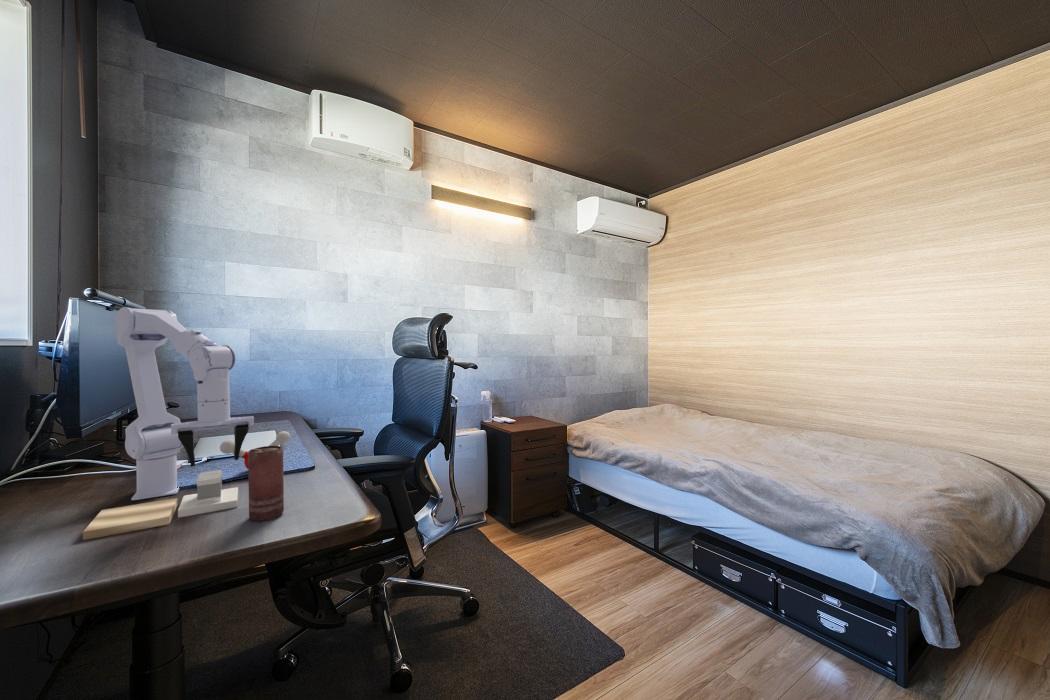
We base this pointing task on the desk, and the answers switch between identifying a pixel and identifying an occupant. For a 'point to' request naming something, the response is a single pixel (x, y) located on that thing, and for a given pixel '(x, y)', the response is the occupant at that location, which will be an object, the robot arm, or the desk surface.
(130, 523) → the stand
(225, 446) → the molecular model
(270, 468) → the can
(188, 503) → the stand
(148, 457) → the robot arm
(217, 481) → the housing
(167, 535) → the desk surface
